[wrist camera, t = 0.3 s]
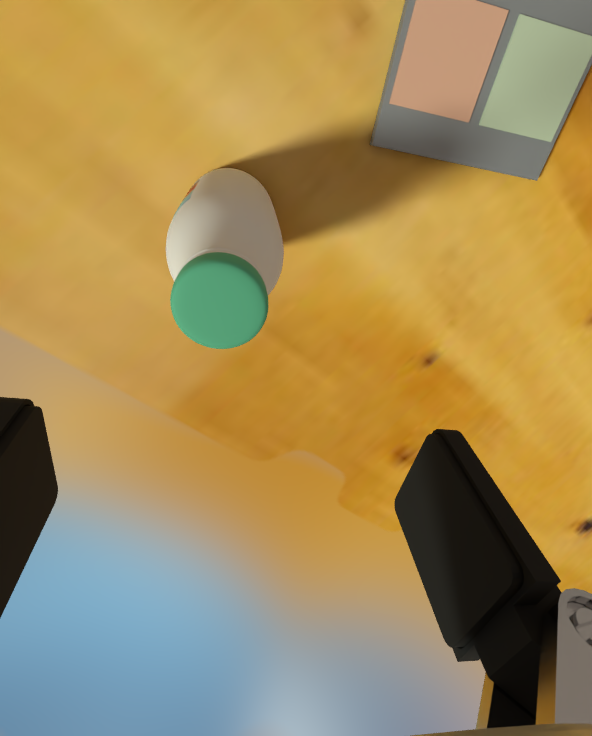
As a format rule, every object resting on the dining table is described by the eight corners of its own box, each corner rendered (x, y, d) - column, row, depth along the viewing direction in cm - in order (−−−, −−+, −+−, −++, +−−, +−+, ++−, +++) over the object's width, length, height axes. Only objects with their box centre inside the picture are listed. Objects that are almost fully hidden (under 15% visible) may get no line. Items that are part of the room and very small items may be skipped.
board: (424, -76, 26) (430, -82, 25) (618, -9, 29) (629, -13, 28) (369, 144, 33) (373, 145, 32) (531, 179, 36) (538, 180, 35)
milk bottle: (224, 144, 32) (204, 181, 15) (291, 213, 35) (334, 304, 19) (168, 216, 34) (98, 316, 18) (235, 273, 38) (230, 401, 21)
